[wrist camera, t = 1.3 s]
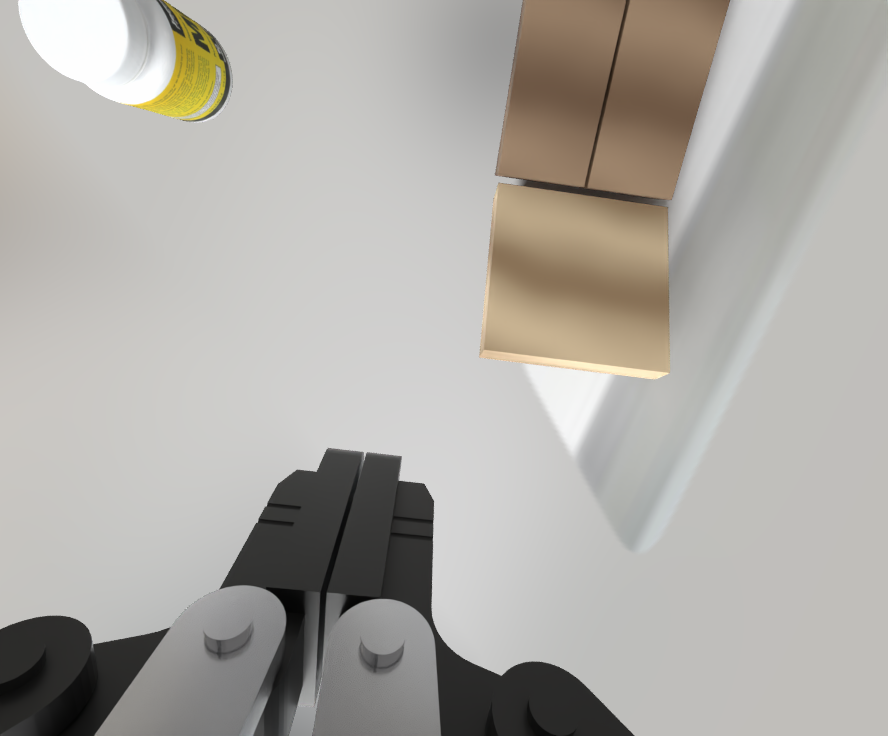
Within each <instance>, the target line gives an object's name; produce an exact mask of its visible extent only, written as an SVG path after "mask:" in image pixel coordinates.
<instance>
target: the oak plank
mask: <svg viewBox="0 0 888 736" xmlns="http://www.w3.org/2000/svg"><path fill="white" fill-rule="evenodd" d="M479 357H480V358H487V359H495V360H503V361H511V362H519V363H527V364H535V365H543V366H551V367H559V368H567V369H575V370H583V371H591V372H599V373H608V374H616V375H624V376H632V377H640V378H648V379H657V378H659V377H662V376H664V375H667V374H669V373H670V342H669V269H668V207H663V206H656V205H649V204H642V203H635V202H628V201H622V200H615V199H608V198H601V197H594V196H587V195H580V194H573V193H566V192H559V191H553V190H546V189H539V188H532V187H525V186H518V185H511V184H503V183H499V184H498V186H497V190H496V193H495V196H494V200H493V211H492V223H491V234H490V244H489V255H488V266H487V278H486V289H485V300H484V311H483V322H482V333H481V344H480V355H479Z"/></svg>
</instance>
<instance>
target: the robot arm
mask: <svg viewBox="0 0 888 736" xmlns="http://www.w3.org/2000/svg"><path fill="white" fill-rule="evenodd" d="M401 458H402V457H401V456H393V455H386V454H377V453H367V454H366V457H365V460H364V453H363V452H358V451H349V450H340V449H331V448H328V449H327V450H326V452H325V454H324V457H323V459H322V461H321V463H320V466H319V468H318V470H317V472H313V471H304V470H296V471H295V472H293V473H292V474H291V475H289V476H288V477H287V478H285V479H284V480H283V481H282V482H280V483H279V484H278V485H277V487H276V488H275V491H274V492H273V494H272V496H271V498H270V499H269V501H268V504H267V507H265V508H264V510H263V512H262V514H261V516H260V517H259V521H258V523H256V524H255V526H254V528H253V530H252V532H251V533H250V535H249V537H248V539H247V541H246V542H245V544H244V546H243V548H242V550H241V551H240V553H239V555H238V557H237V559H236V561H235V563H234V564H233V566H232V568H231V569H230V571H229V573H228V575H227V577H226V579H225V580H224V582H223V584H222V586H221V588H220V589H219V590H217V591H214V592H212V593H209V594H207V595H205V596H203V597H202V598H200V599H198V600H197V601H195V602H194V603H193V604H191V605H190V606H189V607H188V608H187V609H186V610H185V611H184V612H183V613H182V614H181V615H180V616H179V617H178V618H177V620H176V621H175V622H174V624H173V625H172V627H170V628H167V629H164V630H161V631H158V632H155V633H150V634H146V635H141V636H136V637H130V638H125V639H119V640H114V641H109V642H104V643H99V644H93V643H92V638H91V634H90V632H89V630H88V628H87V627H86V626H85V625H84V624H83V623H81V622H80V621H78V620H76V619H73V618H71V617H65V616H44V617H36V618H32V619H28V620H24V621H21V622H18V623H15V624H12V625H9V626H7V627H5V628H2V629H0V736H289V733H290V730H291V726H292V723H293V719H294V715H295V712H296V708H297V706H306V707H314V706H315V702H316V698H317V694H318V690H319V686H320V682H321V687H320V693H319V700H318V705H317V711H316V716H315V722H314V728H313V734H312V736H634V735H633V734H632V733H631V732H630V731H629V730H628V729H627V728H626V727H625V726H624V725H623V724H622V723H621V722H620V721H619V720H618V719H617V718H616V717H615V715H614V714H612V712H611V711H610V710H609V709H608V708H607V707H606V706H605V705H604V704H603V703H602V702H601V701H600V700H599V699H598V698H597V697H596V696H595V695H594V694H593V693H592V692H591V691H590V690H589V689H588V688H587V687H586V686H585V685H584V684H583V683H582V682H581V681H580V680H578V679H577V678H576V677H574V676H573V675H572V674H570V673H569V672H567V671H565V670H564V669H562V668H560V667H557V666H555V665H552V664H548V663H543V662H525V663H521V664H518V665H516V666H514V667H512V668H510V669H509V670H508V671H507V672H506V673H504V674H503V675H502V676H500V675H498V674H496V673H494V672H491V671H489V670H487V669H484V668H482V667H480V666H477V665H475V664H473V663H471V662H469V661H467V660H465V659H463V658H462V657H460V656H459V655H457V654H456V653H455V652H453V650H451V649H450V648H449V647H448V646H447V645H446V643H445V642H444V641H443V640H442V638H441V637H440V635H439V634H438V632H437V630H436V628H435V625H434V622H433V618H432V611H431V602H432V601H431V599H432V559H433V518H434V515H433V514H434V500H433V499H432V497H431V495H430V493H429V491H428V490H427V488H426V486H425V484H422V483H413V482H404V481H399V476H400V467H401ZM321 678H322V681H321Z"/></svg>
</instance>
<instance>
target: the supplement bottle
mask: <svg viewBox="0 0 888 736" xmlns="http://www.w3.org/2000/svg"><path fill="white" fill-rule="evenodd" d="M18 8H19V13H20V18H21V22H22V25H23V28H24V30H25V32H26V34H27V36H28V39H29V40H30V42H31V44H32V45H33V47H34V48H35V50H36V51H37V52H38V54H40V56H41V57H42V58H43V59H44V60H45V61H46V62H47V63H48V64H49V65H50V66H51V67H53V68H54V69H55V70H57V71H58V72H60V73H62V74H63V75H65V76H67V77H70V78H72V79H74V80H77V81H80V82H83V83H85V84H86V85H87V86H89V87H90V88H91V89H93V90H94V91H96V92H97V93H99V94H100V95H102V96H104V97H106V98H108V99H111V100H113V101H116V102H119V103H122V104H126V105H130V106H133V107H137V108H141V109H145V110H148V111H152V112H156V113H159V114H162V115H166V116H169V117H173V118H176V119H180V120H183V121H188V122H205V121H208V120H211V119H213V118H215V117H216V116H217V115H219V114H220V113H221V112H222V111H223V110H224V108H225V107H226V105H227V103H228V101H229V99H230V95H231V92H232V83H233V81H232V71H231V66H230V63H229V60H228V57H227V55H226V53H225V51H224V49H223V48H222V46H221V45H220V43H219V42H218V41H217V40H216V38H215V37H214V36H213V35H212V34H211V33H210V32H208V31H207V30H206V29H205V28H203V27H202V26H201V25H199V24H198V23H197V22H195V21H193V20H192V19H190V18H189V17H187V16H186V15H184V14H183V13H182V12H180V11H179V10H177V9H176V8H174V7H173V6H171V5H170V4H169V3H167V2H166V1H164V0H18Z"/></svg>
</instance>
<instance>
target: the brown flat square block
mask: <svg viewBox="0 0 888 736" xmlns="http://www.w3.org/2000/svg"><path fill="white" fill-rule="evenodd" d="M729 2H730V0H523V4H522V10H521V16H520V23H519V28H518V35H517V41H516V47H515V53H514V60H513V67H512V72H511V79H510V85H509V91H508V97H507V104H506V110H505V116H504V122H503V128H502V135H501V141H500V147H499V153H498V160H497V166H496V172H495V175H496V176H503V177H509V178H516V179H523V180H530V181H537V182H544V183H550V184H557V185H564V186H571V187H579V188H585V189H592V190H598V191H605V192H612V193H619V194H626V195H633V196H640V197H646V198H653V199H663V200H672V197H673V193H674V190H675V187H676V183H677V180H678V176H679V173H680V169H681V166H682V163H683V159H684V156H685V152H686V149H687V146H688V142H689V139H690V135H691V132H692V129H693V125H694V122H695V118H696V115H697V111H698V108H699V105H700V101H701V98H702V94H703V91H704V88H705V84H706V81H707V77H708V74H709V70H710V67H711V64H712V60H713V57H714V53H715V50H716V47H717V43H718V40H719V36H720V33H721V30H722V26H723V23H724V19H725V16H726V12H727V9H728V6H729Z"/></svg>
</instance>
